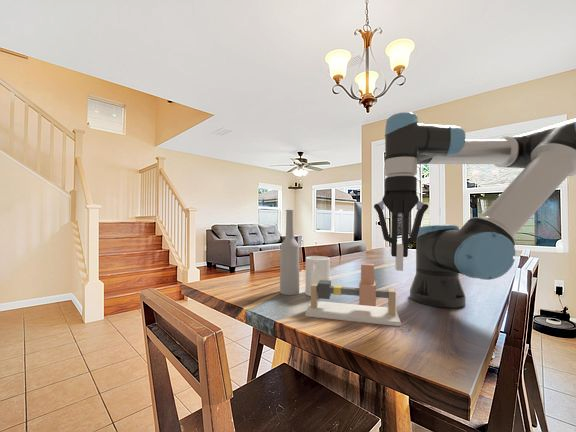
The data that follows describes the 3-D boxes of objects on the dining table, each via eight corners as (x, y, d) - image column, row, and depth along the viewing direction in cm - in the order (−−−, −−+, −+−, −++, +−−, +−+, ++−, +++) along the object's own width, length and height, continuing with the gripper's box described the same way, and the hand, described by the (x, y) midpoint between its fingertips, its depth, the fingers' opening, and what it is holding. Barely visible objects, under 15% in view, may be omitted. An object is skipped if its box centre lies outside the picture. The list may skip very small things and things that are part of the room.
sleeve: (374, 300, 73) (375, 263, 73) (375, 306, 68) (375, 266, 68) (359, 298, 74) (359, 262, 74) (359, 304, 69) (359, 265, 69)
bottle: (275, 292, 92) (276, 209, 92) (290, 288, 96) (290, 210, 96) (289, 296, 87) (289, 209, 87) (303, 292, 91) (303, 209, 91)
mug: (323, 301, 82) (323, 262, 82) (297, 298, 85) (297, 260, 85) (333, 291, 93) (333, 256, 93) (309, 288, 96) (310, 255, 96)
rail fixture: (395, 311, 74) (395, 282, 74) (400, 326, 64) (400, 292, 64) (312, 303, 80) (312, 276, 80) (305, 316, 70) (305, 285, 70)
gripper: (425, 178, 70) (424, 268, 70) (373, 179, 74) (371, 265, 74) (432, 173, 63) (431, 274, 63) (374, 175, 67) (372, 270, 67)
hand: (399, 269), depth 69 cm, fingers closed
